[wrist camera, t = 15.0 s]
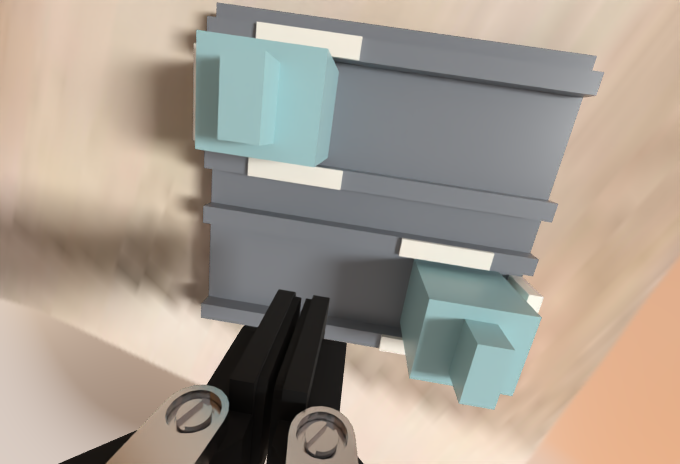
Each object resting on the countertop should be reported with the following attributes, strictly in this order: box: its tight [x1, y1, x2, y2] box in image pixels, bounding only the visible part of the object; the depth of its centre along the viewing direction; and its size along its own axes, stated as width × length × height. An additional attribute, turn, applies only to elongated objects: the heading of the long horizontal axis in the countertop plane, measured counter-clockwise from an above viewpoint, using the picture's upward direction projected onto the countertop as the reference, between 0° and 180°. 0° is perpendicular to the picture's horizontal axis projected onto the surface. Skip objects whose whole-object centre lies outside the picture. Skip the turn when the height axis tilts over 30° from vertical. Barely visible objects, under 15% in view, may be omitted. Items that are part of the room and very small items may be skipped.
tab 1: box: [195, 30, 339, 167], centre depth 12 cm, size 4×4×6 cm
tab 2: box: [400, 258, 542, 410], centre depth 14 cm, size 4×4×6 cm
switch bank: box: [193, 3, 604, 355], centre depth 15 cm, size 14×15×3 cm
